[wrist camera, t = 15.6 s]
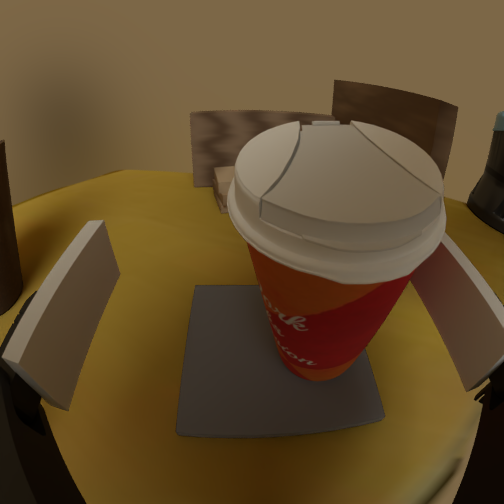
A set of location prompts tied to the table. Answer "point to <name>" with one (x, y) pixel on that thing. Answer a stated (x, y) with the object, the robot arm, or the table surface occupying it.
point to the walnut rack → (343, 109)
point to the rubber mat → (259, 376)
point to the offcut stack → (222, 185)
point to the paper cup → (334, 233)
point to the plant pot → (7, 242)
